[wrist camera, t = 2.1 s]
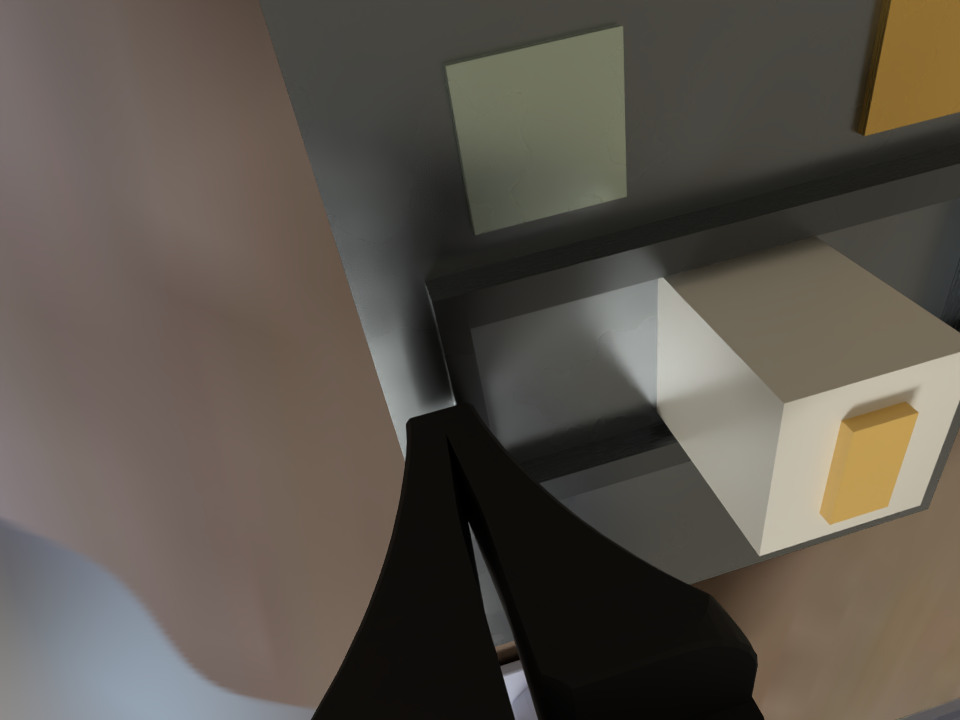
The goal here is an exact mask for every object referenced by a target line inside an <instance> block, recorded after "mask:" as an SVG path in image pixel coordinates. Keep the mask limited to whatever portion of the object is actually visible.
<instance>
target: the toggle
mask: <svg viewBox="0 0 960 720" xmlns="http://www.w3.org/2000/svg"><path fill="white" fill-rule="evenodd" d="M959 401H960V332H958V331H957V330H955V329H954V328H952V327H951V326H949V325H948V324H946V323H945V322H943V321H942V320H940V319H939V318H937V317H936V316H934V315H933V314H931V313H930V312H928V311H927V310H925V309H924V308H922V307H921V306H919V305H918V304H916V303H915V302H913V301H912V300H910V299H909V298H907V297H906V296H904V295H903V294H901V293H900V292H898V291H897V290H895V289H894V288H892V287H891V286H889V285H888V284H886V283H885V282H883V281H882V280H880V279H879V278H877V277H876V276H874V275H873V274H871V273H870V272H868V271H867V270H865V269H864V268H862V267H861V266H859V265H858V264H856V263H855V262H853V261H852V260H850V259H849V258H847V257H846V256H844V255H843V254H841V253H840V252H838V251H837V250H835V249H834V248H832V247H831V246H829V245H828V244H826V243H825V242H823V241H822V240H820V239H819V238H817V237H816V236H815V237H811V238H807V239H804V240H800V241H796V242H793V243H789V244H785V245H781V246H778V247H774V248H770V249H766V250H763V251H759V252H755V253H752V254H748V255H744V256H740V257H737V258H733V259H729V260H725V261H722V262H718V263H714V264H711V265H707V266H703V267H699V268H696V269H692V270H688V271H684V272H681V273H677V274H673V275H670V276H666V277H662V278H658V333H657V413H658V414H659V415H660V417H661V418H662V420H663V421H664V422H665V424H666V425H667V427H668V428H669V429H670V431H671V432H672V434H673V435H674V437H675V438H676V439H677V441H678V442H679V444H680V445H681V446H682V448H683V449H684V451H685V452H686V453H687V455H688V456H689V458H690V459H691V461H692V462H693V463H694V465H695V466H696V468H697V469H698V470H699V472H700V473H701V475H702V476H703V478H704V479H705V480H706V482H707V483H708V485H709V486H710V487H711V489H712V490H713V492H714V493H715V494H716V496H717V497H718V499H719V500H720V502H721V503H722V504H723V506H724V507H725V509H726V510H727V511H728V513H729V514H730V516H731V517H732V518H733V520H734V521H735V523H736V524H737V526H738V527H739V528H740V530H741V531H742V533H743V534H744V535H745V537H746V538H747V540H748V541H749V542H750V544H751V545H752V547H753V548H754V550H755V551H756V552H757V554H758V555H759V556H762V555H765V554H768V553H771V552H774V551H777V550H781V549H784V548H787V547H790V546H793V545H796V544H800V543H803V542H806V541H809V540H812V539H815V538H818V537H822V536H825V535H828V534H831V533H834V532H837V531H841V530H844V529H847V528H850V527H853V526H856V525H860V524H863V523H866V522H869V521H872V520H875V519H878V518H882V517H885V516H888V515H891V514H894V513H897V512H901V511H904V510H907V509H910V508H913V507H916V506H920V505H921V502H922V500H923V497H924V494H925V492H926V489H927V486H928V484H929V481H930V478H931V476H932V473H933V470H934V468H935V465H936V462H937V460H938V457H939V454H940V452H941V449H942V446H943V444H944V441H945V438H946V436H947V433H948V430H949V428H950V425H951V422H952V420H953V417H954V414H955V412H956V409H957V406H958V404H959Z"/></svg>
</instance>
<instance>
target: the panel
mask: <svg viewBox="0 0 960 720" xmlns="http://www.w3.org/2000/svg"><path fill="white" fill-rule="evenodd" d="M259 3H260V6H261V9H262V12H263V15H264V18H265V22H266V25H267V28H268V31H269V34H270V37H271V40H272V44H273V47H274V50H275V53H276V56H277V59H278V62H279V66H280V69H281V72H282V75H283V78H284V81H285V84H286V88H287V91H288V94H289V97H290V100H291V103H292V107H293V110H294V113H295V116H296V119H297V122H298V125H299V129H300V132H301V135H302V138H303V141H304V144H305V147H306V151H307V154H308V157H309V160H310V163H311V166H312V169H313V173H314V176H315V179H316V182H317V185H318V188H319V191H320V195H321V198H322V201H323V204H324V207H325V210H326V213H327V217H328V220H329V223H330V226H331V229H332V232H333V236H334V239H335V242H336V245H337V248H338V251H339V254H340V258H341V261H342V264H343V267H344V270H345V273H346V276H347V280H348V283H349V286H350V289H351V292H352V295H353V298H354V302H355V305H356V308H357V311H358V314H359V317H360V320H361V324H362V327H363V330H364V333H365V336H366V339H367V343H368V346H369V349H370V352H371V355H372V358H373V361H374V365H375V368H376V371H377V374H378V377H379V380H380V383H381V387H382V390H383V393H384V396H385V399H386V402H387V405H388V409H389V412H390V415H391V418H392V421H393V424H394V427H395V431H396V434H397V437H398V440H399V443H400V446H401V449H402V453H403V456H404V459H406V444H407V437H406V423H407V421H408V420H409V419H410V418H412V417H416V416H420V415H423V414H427V413H430V412H434V411H437V410H441V409H445V408H448V407H452V406H455V405H459V404H462V403H466V402H468V403H470V404H472V405H474V407H475V409H476V411H477V413H478V414H479V416H480V417H481V419H482V420H483V421H484V423H485V424H486V426H487V427H488V428H489V430H490V431H491V432H492V433H493V435H494V436H495V437H496V438H497V439H498V441H499V442H500V443H501V444H502V445H503V447H504V448H505V449H506V450H507V451H508V452H509V453H510V454H511V455H512V456H513V457H514V459H515V460H516V461H517V462H518V463H519V464H520V465H521V466H522V467H523V468H524V469H525V470H526V471H527V472H528V473H529V474H530V475H531V476H532V477H533V478H534V479H535V480H536V481H537V482H538V483H539V484H540V485H542V486H543V487H544V488H545V489H546V490H547V491H548V492H549V493H550V494H551V495H553V496H554V497H555V498H556V499H557V500H558V501H560V502H561V503H562V504H563V505H564V506H566V507H567V508H568V509H569V510H571V511H572V512H573V513H574V514H576V515H577V516H578V517H580V518H581V519H582V520H583V521H585V522H586V523H588V524H589V525H590V526H592V527H593V528H594V529H596V530H597V531H599V532H600V533H601V534H603V535H604V536H606V537H608V538H609V539H611V540H612V541H614V542H615V543H617V544H618V545H620V546H622V547H623V548H625V549H626V550H628V551H629V552H631V553H633V554H634V555H636V556H637V557H639V558H641V559H642V560H644V561H646V562H648V563H649V564H651V565H653V566H655V567H656V568H658V569H660V570H662V571H664V572H665V573H667V574H669V575H671V576H673V577H675V578H677V579H679V580H681V581H683V582H685V583H687V584H689V585H690V584H693V583H696V582H699V581H703V580H706V579H709V578H712V577H715V576H718V575H721V574H725V573H728V572H731V571H734V570H737V569H740V568H743V567H747V566H750V565H753V564H756V563H759V562H762V561H765V560H769V559H772V558H775V557H778V556H781V555H784V554H788V553H791V552H794V551H797V550H800V549H803V548H806V547H810V546H813V545H816V544H819V543H822V542H825V541H828V540H832V539H835V538H838V537H841V536H844V535H847V534H850V533H854V532H857V531H860V530H863V529H866V528H869V527H873V526H876V525H879V524H882V523H885V522H888V521H891V520H895V519H898V518H901V517H904V516H907V515H910V514H913V513H917V512H920V511H923V510H926V509H928V508H929V505H930V502H931V500H932V497H933V495H934V492H935V490H936V487H937V484H938V482H939V479H940V477H941V474H942V471H943V469H944V466H945V464H946V461H947V459H948V456H949V453H950V451H951V448H952V446H953V443H954V441H955V438H956V435H957V433H958V430H959V428H960V401H959V404H958V406H957V409H956V412H955V414H954V417H953V420H952V422H951V425H950V428H949V430H948V433H947V436H946V438H945V441H944V444H943V446H942V449H941V452H940V454H939V457H938V460H937V462H936V465H935V468H934V470H933V473H932V476H931V478H930V481H929V484H928V486H927V489H926V492H925V494H924V497H923V500H922V502H921V505H920V506H916V507H913V508H910V509H907V510H904V511H901V512H897V513H894V514H891V515H888V516H885V517H882V518H878V519H875V520H872V521H869V522H866V523H863V524H860V525H856V526H853V527H850V528H847V529H844V530H841V531H837V532H834V533H831V534H828V535H825V536H822V537H818V538H815V539H812V540H809V541H806V542H803V543H800V544H796V545H793V546H790V547H787V548H784V549H781V550H777V551H774V552H771V553H768V554H765V555H762V556H759V555H758V554H757V552H756V551H755V550H754V548H753V547H752V545H751V544H750V542H749V541H748V540H747V538H746V537H745V535H744V534H743V533H742V531H741V530H740V528H739V527H738V526H737V524H736V523H735V521H734V520H733V518H732V517H731V516H730V514H729V513H728V511H727V510H726V509H725V507H724V506H723V504H722V503H721V502H720V500H719V499H718V497H717V496H716V494H715V493H714V492H713V490H712V489H711V487H710V486H709V485H708V483H707V482H706V480H705V479H704V478H703V476H702V475H701V473H700V472H699V470H698V469H697V468H696V466H695V465H694V463H693V462H692V461H691V459H690V458H689V456H688V455H687V453H686V452H685V451H684V449H683V448H682V446H681V445H680V444H679V442H678V441H677V439H676V438H675V437H674V435H673V434H672V432H671V431H670V429H669V428H668V427H667V425H666V424H665V422H664V421H663V420H662V418H661V417H660V415H659V414H658V413H657V333H658V278H662V277H666V276H670V275H673V274H677V273H681V272H684V271H688V270H692V269H696V268H699V267H703V266H707V265H711V264H714V263H718V262H722V261H725V260H729V259H733V258H737V257H740V256H744V255H748V254H752V253H755V252H759V251H763V250H766V249H770V248H774V247H778V246H781V245H785V244H789V243H793V242H796V241H800V240H804V239H807V238H811V237H815V236H816V237H817V238H819V239H820V240H822V241H823V242H825V243H826V244H828V245H829V246H831V247H832V248H834V249H835V250H837V251H838V252H840V253H841V254H843V255H844V256H846V257H847V258H849V259H850V260H852V261H853V262H855V263H856V264H858V265H859V266H861V267H862V268H864V269H865V270H867V271H868V272H870V273H871V274H873V275H874V276H876V277H877V278H879V279H880V280H882V281H883V282H885V283H886V284H888V285H889V286H891V287H892V288H894V289H895V290H897V291H898V292H900V293H901V294H903V295H904V296H906V297H907V298H909V299H910V300H912V301H913V302H915V303H916V304H918V305H919V306H921V307H922V308H924V309H925V310H927V311H928V312H930V313H931V314H933V315H934V316H936V317H937V318H939V319H940V320H942V321H943V322H945V323H946V324H948V325H949V326H951V327H952V328H954V329H955V330H957V331H958V332H960V0H259ZM469 528H470V533H471V538H472V544H473V549H474V555H475V560H476V566H477V571H478V577H479V582H480V588H481V593H482V599H483V604H484V610H485V615H486V618H487V622H488V625H489V629H490V632H491V636H492V639H493V643H494V646H498V645H501V644H504V643H507V642H510V641H514V638H513V634H512V631H511V628H510V625H509V623H508V620H507V617H506V614H505V611H504V609H503V606H502V604H501V601H500V599H499V596H498V594H497V592H496V589H495V587H494V584H493V582H492V579H491V577H490V574H489V572H488V569H487V567H486V564H485V562H484V559H483V557H482V554H481V552H480V549H479V547H478V544H477V542H476V539H475V537H474V534H473V532H472V529H471V527H470V524H469Z"/></svg>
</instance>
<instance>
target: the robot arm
mask: <svg viewBox="0 0 960 720" xmlns="http://www.w3.org/2000/svg"><path fill="white" fill-rule="evenodd" d="M406 437H407V444H406V459H405V470H404V476H403V483H402V489H401V496H400V501H399V506H398V511H397V515H396V519H395V524H394V528H393V532H392V536H391V540H390V544H389V547H388V551H387V554H386V557H385V561H384V564H383V567H382V570H381V573H380V576H379V579H378V582H377V584H376V587H375V590H374V592H373V595H372V598H371V600H370V603H369V605H368V608H367V610H366V613H365V615H364V618H363V620H362V622H361V625H360V627H359V629H358V631H357V633H356V635H355V637H354V640H353V642H352V644H351V646H350V648H349V650H348V652H347V654H346V656H345V659H344V661H343V663H342V665H341V667H340V669H339V671H338V672H337V674H336V676H335V678H334V680H333V682H332V683H331V685H330V687H329V689H328V690H327V692H326V694H325V696H324V697H323V699H322V701H321V703H320V705H319V706H318V708H317V710H316V712H315V714H314V715H313V717H312V719H311V720H764V717H763V715H762V713H761V712H760V710H759V708H758V706H757V705H756V703H755V701H754V699H753V698H752V692H753V687H754V682H755V677H756V672H757V667H758V663H757V654H756V653H755V651H754V650H753V648H752V646H751V644H750V642H749V641H748V639H747V637H746V636H745V635H744V633H743V632H742V631H741V629H740V628H739V627H738V626H737V624H736V623H735V622H734V621H733V619H732V618H731V617H730V616H729V614H728V613H727V612H726V611H725V610H724V609H723V608H722V606H721V605H720V604H719V603H718V602H717V601H716V600H715V599H714V598H713V597H712V596H711V595H710V594H708V593H706V592H704V591H701V590H699V589H697V588H695V587H693V586H691V585H689V584H687V583H685V582H683V581H681V580H679V579H677V578H675V577H673V576H671V575H669V574H667V573H665V572H664V571H662V570H660V569H658V568H656V567H655V566H653V565H651V564H649V563H648V562H646V561H644V560H642V559H641V558H639V557H637V556H636V555H634V554H633V553H631V552H629V551H628V550H626V549H625V548H623V547H622V546H620V545H618V544H617V543H615V542H614V541H612V540H611V539H609V538H608V537H606V536H604V535H603V534H601V533H600V532H599V531H597V530H596V529H594V528H593V527H592V526H590V525H589V524H588V523H586V522H585V521H583V520H582V519H581V518H580V517H578V516H577V515H576V514H574V513H573V512H572V511H571V510H569V509H568V508H567V507H566V506H564V505H563V504H562V503H561V502H560V501H558V500H557V499H556V498H555V497H554V496H553V495H551V494H550V493H549V492H548V491H547V490H546V489H545V488H544V487H543V486H542V485H540V484H539V483H538V482H537V481H536V480H535V479H534V478H533V477H532V476H531V475H530V474H529V473H528V472H527V471H526V470H525V469H524V468H523V467H522V466H521V465H520V464H519V463H518V462H517V461H516V460H515V459H514V457H513V456H512V455H511V454H510V453H509V452H508V451H507V450H506V449H505V448H504V447H503V445H502V444H501V443H500V442H499V441H498V439H497V438H496V437H495V436H494V435H493V433H492V432H491V431H490V430H489V428H488V427H487V426H486V424H485V423H484V421H483V420H482V419H481V417H480V416H479V414H478V413H477V411H476V409H475V407H474V405H472V404H470V403H468V402H466V403H462V404H459V405H455V406H452V407H448V408H445V409H441V410H437V411H434V412H430V413H427V414H423V415H420V416H416V417H412V418H410V419H409V420H408V421H407V423H406ZM469 524H470V527H471V529H472V532H473V534H474V537H475V539H476V542H477V544H478V547H479V549H480V552H481V554H482V557H483V559H484V562H485V564H486V567H487V569H488V572H489V574H490V577H491V579H492V582H493V584H494V587H495V589H496V592H497V594H498V596H499V599H500V601H501V604H502V606H503V609H504V611H505V614H506V617H507V620H508V623H509V625H510V628H511V631H512V634H513V638H514V641H515V644H516V648H517V651H518V654H519V658H520V660H518V661H515V662H511V663H508V664H505V665H502V666H500V664H499V660H498V657H497V653H496V650H495V646H494V643H493V639H492V636H491V632H490V629H489V625H488V622H487V618H486V615H485V610H484V604H483V599H482V593H481V588H480V582H479V577H478V571H477V566H476V560H475V555H474V549H473V544H472V538H471V533H470V528H469ZM897 720H960V698H957V699H954V700H951V701H948V702H945V703H943V704H940V705H937V706H934V707H931V708H928V709H925V710H923V711H920V712H917V713H914V714H911V715H908V716H905V717H903V718H900V719H897Z"/></svg>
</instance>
